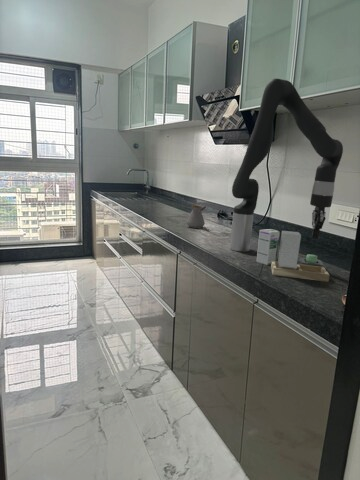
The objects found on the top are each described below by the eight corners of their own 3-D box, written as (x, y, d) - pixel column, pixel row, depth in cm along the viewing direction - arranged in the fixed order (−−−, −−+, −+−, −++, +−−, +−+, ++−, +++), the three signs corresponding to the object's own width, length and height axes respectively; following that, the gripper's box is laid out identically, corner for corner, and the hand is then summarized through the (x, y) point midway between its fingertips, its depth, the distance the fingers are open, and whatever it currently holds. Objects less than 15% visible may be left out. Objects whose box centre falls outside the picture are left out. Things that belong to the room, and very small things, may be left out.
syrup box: (266, 267, 139) (271, 231, 136) (255, 263, 144) (259, 229, 141) (276, 266, 143) (280, 231, 140) (264, 262, 147) (269, 228, 144)
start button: (304, 264, 141) (305, 253, 140) (314, 265, 141) (316, 255, 140) (305, 267, 137) (307, 256, 137) (316, 268, 137) (318, 257, 136)
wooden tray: (270, 270, 136) (271, 261, 135) (322, 276, 133) (323, 267, 132) (272, 278, 127) (273, 268, 126) (327, 284, 123) (329, 274, 123)
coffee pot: (183, 225, 222) (185, 201, 219) (200, 225, 225) (202, 202, 222) (194, 232, 202) (196, 206, 199) (212, 232, 205) (215, 206, 202)
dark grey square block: (297, 266, 144) (299, 257, 143) (318, 269, 143) (319, 259, 142) (300, 272, 136) (302, 262, 135) (322, 275, 135) (324, 265, 134)
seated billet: (276, 269, 134) (281, 230, 131) (293, 271, 133) (298, 232, 130) (278, 273, 128) (283, 233, 125) (295, 275, 127) (301, 235, 124)
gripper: (309, 191, 140) (302, 233, 144) (315, 194, 127) (307, 240, 131) (328, 193, 139) (321, 236, 143) (337, 196, 126) (328, 243, 130)
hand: (314, 238), depth 137 cm, fingers closed
